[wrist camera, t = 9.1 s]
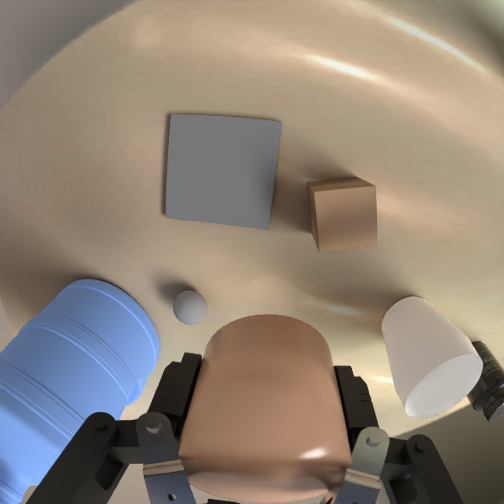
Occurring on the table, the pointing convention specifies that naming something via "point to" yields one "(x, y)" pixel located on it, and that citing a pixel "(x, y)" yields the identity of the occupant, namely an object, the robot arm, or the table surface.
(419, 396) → the cup
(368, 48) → the table surface
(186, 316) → the grey ball
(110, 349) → the water jug
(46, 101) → the table surface
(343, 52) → the table surface
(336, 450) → the peach rounded capsule
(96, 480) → the robot arm
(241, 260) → the table surface
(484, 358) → the supplement bottle
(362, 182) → the walnut block
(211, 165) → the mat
